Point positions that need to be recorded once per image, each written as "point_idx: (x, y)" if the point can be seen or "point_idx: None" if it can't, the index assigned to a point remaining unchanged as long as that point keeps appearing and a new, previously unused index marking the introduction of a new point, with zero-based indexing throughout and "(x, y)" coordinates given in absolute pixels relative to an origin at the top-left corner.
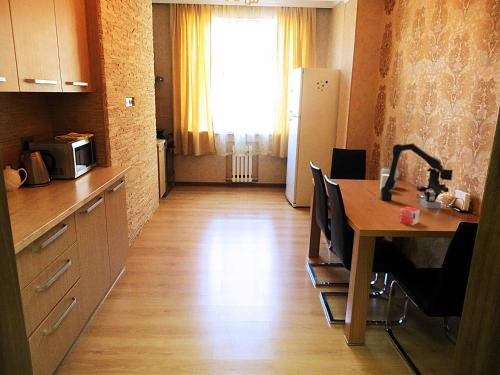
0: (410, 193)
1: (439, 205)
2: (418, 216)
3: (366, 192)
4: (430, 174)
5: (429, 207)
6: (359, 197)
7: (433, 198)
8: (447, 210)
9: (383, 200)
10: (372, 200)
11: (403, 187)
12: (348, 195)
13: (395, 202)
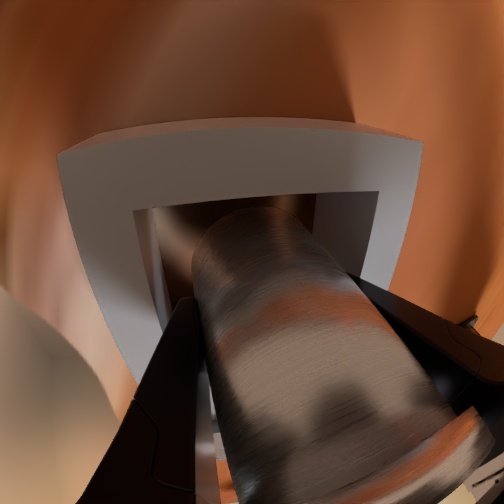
0: (229, 473)
1: (111, 137)
2: None
3: None
4: None
5: (323, 121)
6: (490, 328)
7: (295, 311)
8: (39, 31)
9: (475, 315)
10: (496, 302)
11: (221, 492)
12: (490, 338)
13: (456, 303)
